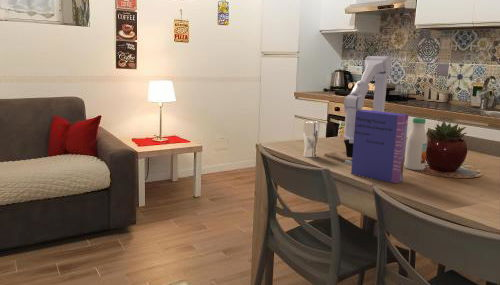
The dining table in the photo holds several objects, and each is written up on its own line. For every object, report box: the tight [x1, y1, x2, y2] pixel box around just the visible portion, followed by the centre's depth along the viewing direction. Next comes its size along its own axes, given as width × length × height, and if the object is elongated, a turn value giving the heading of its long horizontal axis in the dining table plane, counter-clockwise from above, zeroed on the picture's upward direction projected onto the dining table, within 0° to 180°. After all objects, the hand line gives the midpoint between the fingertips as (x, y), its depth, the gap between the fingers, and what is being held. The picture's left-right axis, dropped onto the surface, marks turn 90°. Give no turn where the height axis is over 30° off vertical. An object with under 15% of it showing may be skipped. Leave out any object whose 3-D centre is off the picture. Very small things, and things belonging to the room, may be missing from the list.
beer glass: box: [303, 120, 321, 158], centre depth 192 cm, size 7×7×15 cm
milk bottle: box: [403, 117, 428, 171], centre depth 176 cm, size 8×8×20 cm
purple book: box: [350, 109, 410, 185], centre depth 159 cm, size 17×5×24 cm, turn 50°
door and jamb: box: [323, 150, 352, 166], centre depth 187 cm, size 18×26×4 cm
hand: (349, 157), depth 184 cm, fingers closed, pressing on swing bar
